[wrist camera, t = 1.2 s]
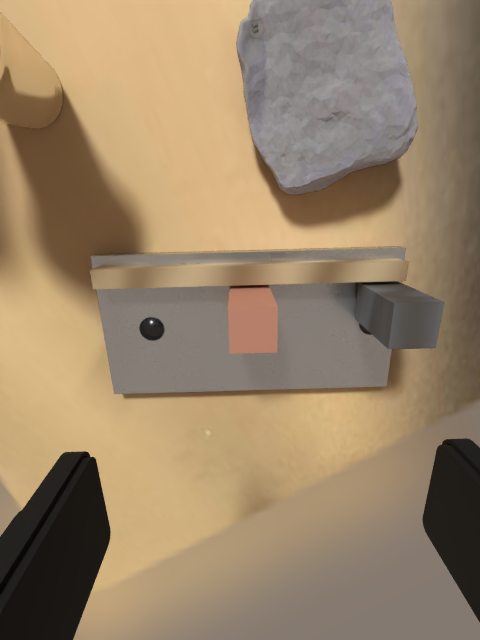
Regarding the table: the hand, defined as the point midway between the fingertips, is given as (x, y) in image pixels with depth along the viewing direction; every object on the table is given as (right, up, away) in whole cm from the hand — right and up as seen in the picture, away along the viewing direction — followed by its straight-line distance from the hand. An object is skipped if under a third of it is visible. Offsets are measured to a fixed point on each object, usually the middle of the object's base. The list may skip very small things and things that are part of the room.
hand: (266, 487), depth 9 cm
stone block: (+4, +20, +14) cm, 25 cm away
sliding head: (0, +5, +17) cm, 18 cm away
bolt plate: (0, +4, +19) cm, 19 cm away
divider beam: (0, +6, +17) cm, 18 cm away
